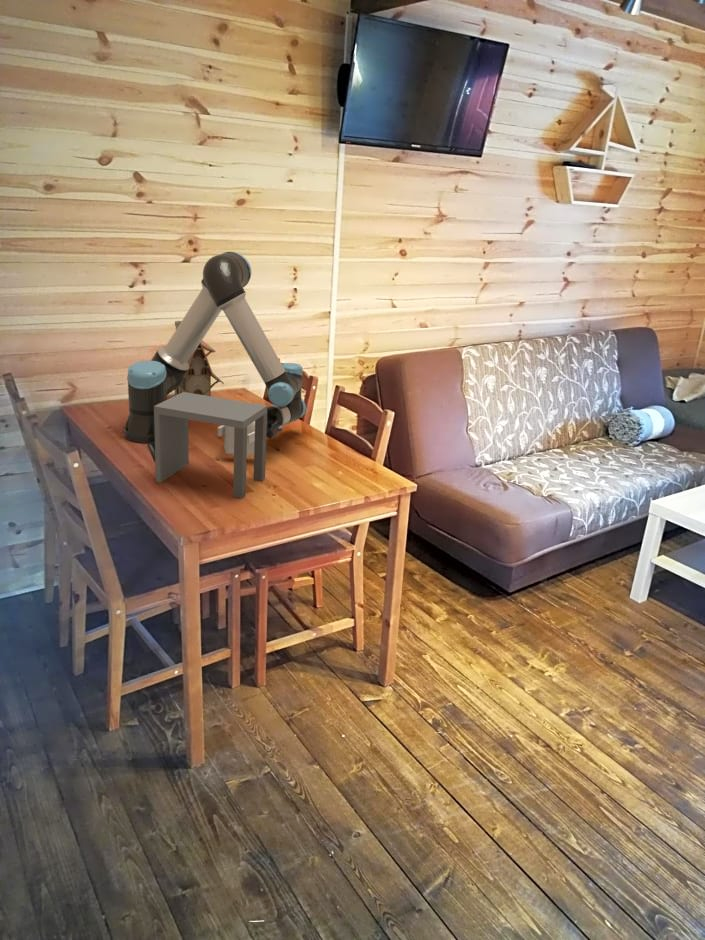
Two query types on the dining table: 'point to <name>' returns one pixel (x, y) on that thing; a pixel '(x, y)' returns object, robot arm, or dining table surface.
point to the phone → (152, 449)
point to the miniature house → (198, 372)
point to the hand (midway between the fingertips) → (233, 435)
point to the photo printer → (230, 439)
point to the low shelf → (211, 410)
